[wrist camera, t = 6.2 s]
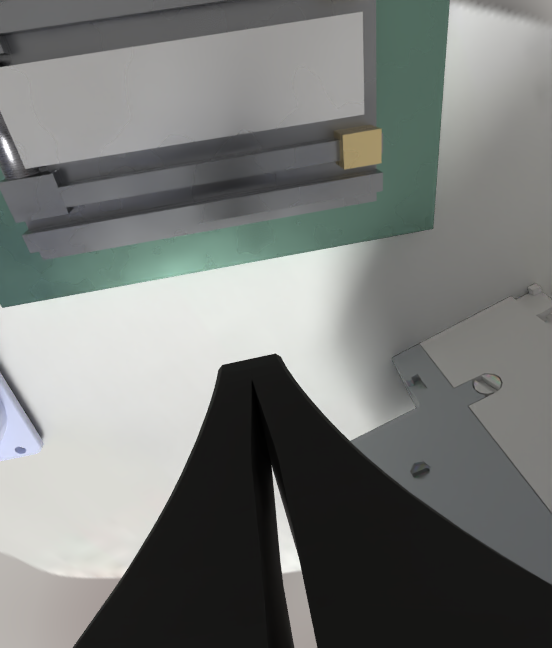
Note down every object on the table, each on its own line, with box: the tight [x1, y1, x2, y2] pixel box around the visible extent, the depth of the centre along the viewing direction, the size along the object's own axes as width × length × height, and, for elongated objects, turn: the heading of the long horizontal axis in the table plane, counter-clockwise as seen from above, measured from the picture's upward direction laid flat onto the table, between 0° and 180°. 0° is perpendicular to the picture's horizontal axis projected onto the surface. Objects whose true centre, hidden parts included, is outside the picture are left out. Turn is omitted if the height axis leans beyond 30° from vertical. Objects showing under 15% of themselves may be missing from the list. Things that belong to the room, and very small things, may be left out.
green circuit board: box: [0, 0, 450, 308], centre depth 13 cm, size 18×13×4 cm
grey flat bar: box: [0, 12, 364, 179], centre depth 12 cm, size 10×3×1 cm, turn 97°
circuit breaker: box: [350, 283, 552, 584], centre depth 18 cm, size 8×14×15 cm, turn 118°
